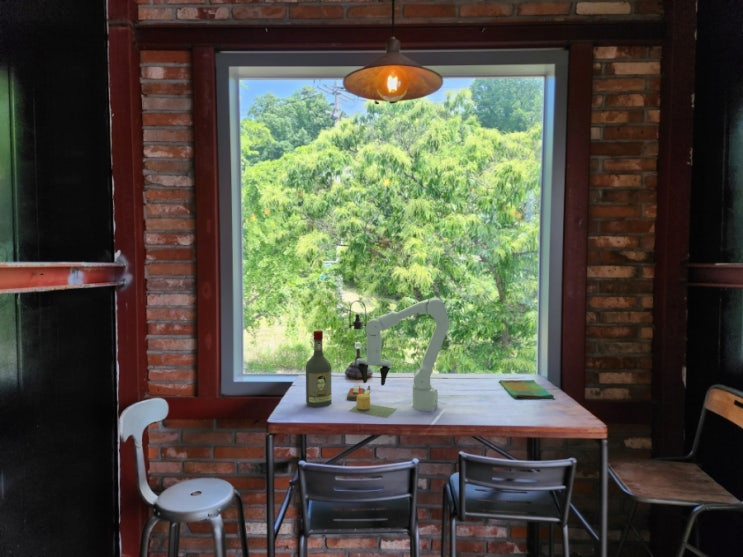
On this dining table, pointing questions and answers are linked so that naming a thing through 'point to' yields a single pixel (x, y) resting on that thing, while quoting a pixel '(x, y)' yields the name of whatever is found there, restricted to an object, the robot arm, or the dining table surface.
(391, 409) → the board
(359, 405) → the cap
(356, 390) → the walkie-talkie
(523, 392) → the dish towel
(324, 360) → the liquor
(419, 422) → the dining table surface
